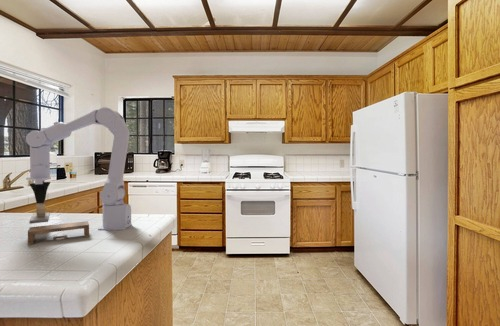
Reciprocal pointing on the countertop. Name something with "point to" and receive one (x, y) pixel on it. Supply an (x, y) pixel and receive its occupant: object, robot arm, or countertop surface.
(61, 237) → the silver flat dome
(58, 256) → the countertop surface
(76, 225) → the brown wooden bridge
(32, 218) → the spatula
